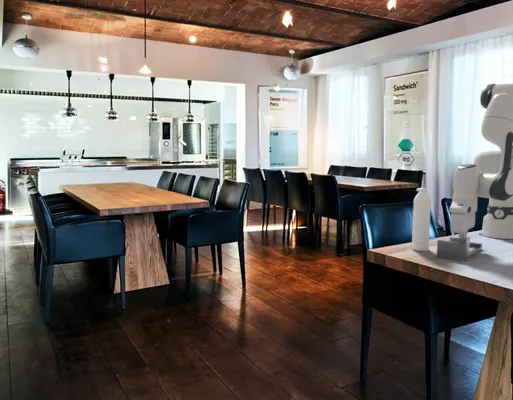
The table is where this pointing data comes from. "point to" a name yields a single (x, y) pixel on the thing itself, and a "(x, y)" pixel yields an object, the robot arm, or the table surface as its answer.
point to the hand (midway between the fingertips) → (462, 241)
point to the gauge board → (457, 250)
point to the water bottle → (421, 221)
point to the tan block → (461, 240)
